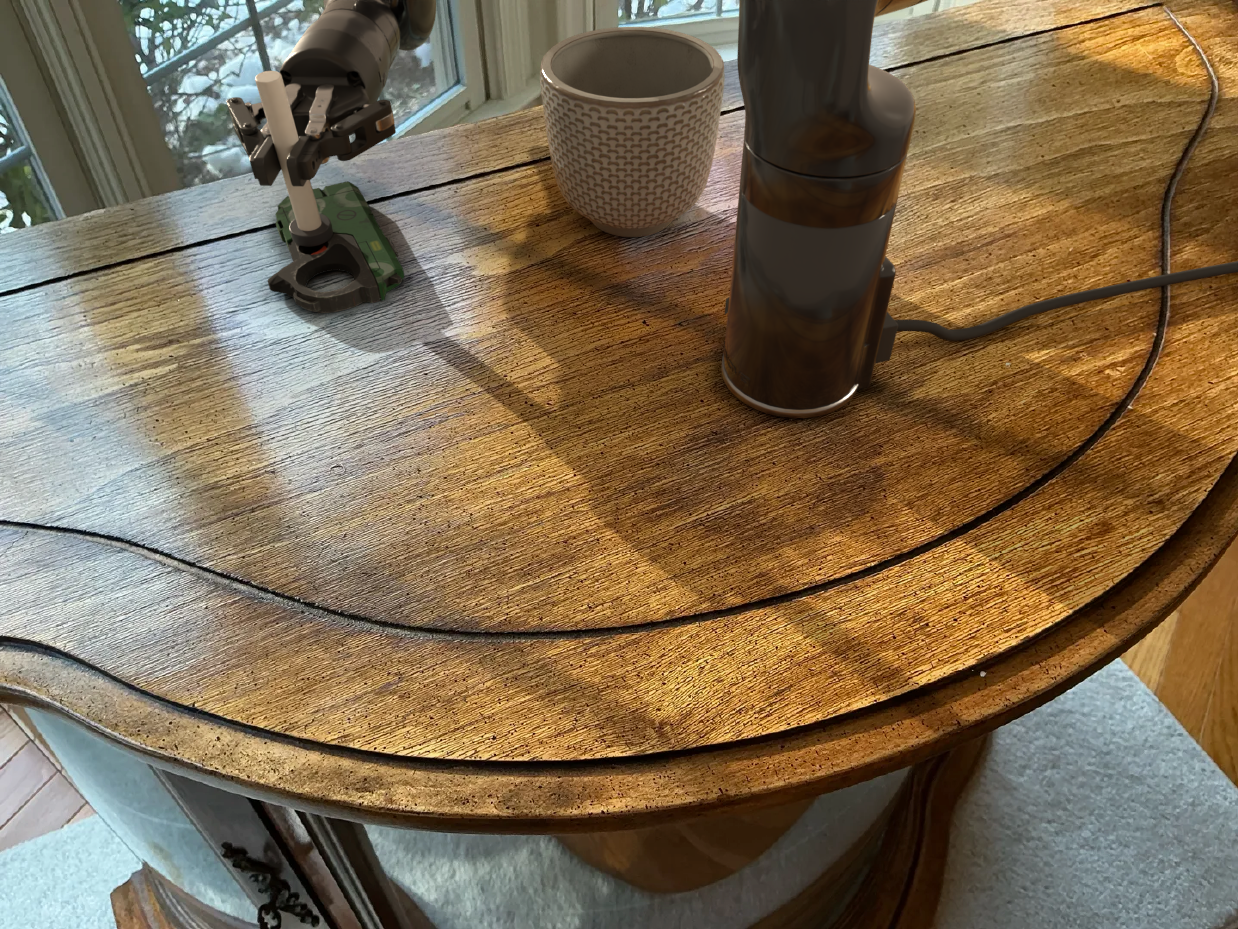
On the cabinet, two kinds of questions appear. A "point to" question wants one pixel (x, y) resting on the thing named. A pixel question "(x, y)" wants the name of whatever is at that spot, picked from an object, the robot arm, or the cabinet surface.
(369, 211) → the gun
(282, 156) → the beige rod with base
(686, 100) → the planter
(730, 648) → the cabinet surface
